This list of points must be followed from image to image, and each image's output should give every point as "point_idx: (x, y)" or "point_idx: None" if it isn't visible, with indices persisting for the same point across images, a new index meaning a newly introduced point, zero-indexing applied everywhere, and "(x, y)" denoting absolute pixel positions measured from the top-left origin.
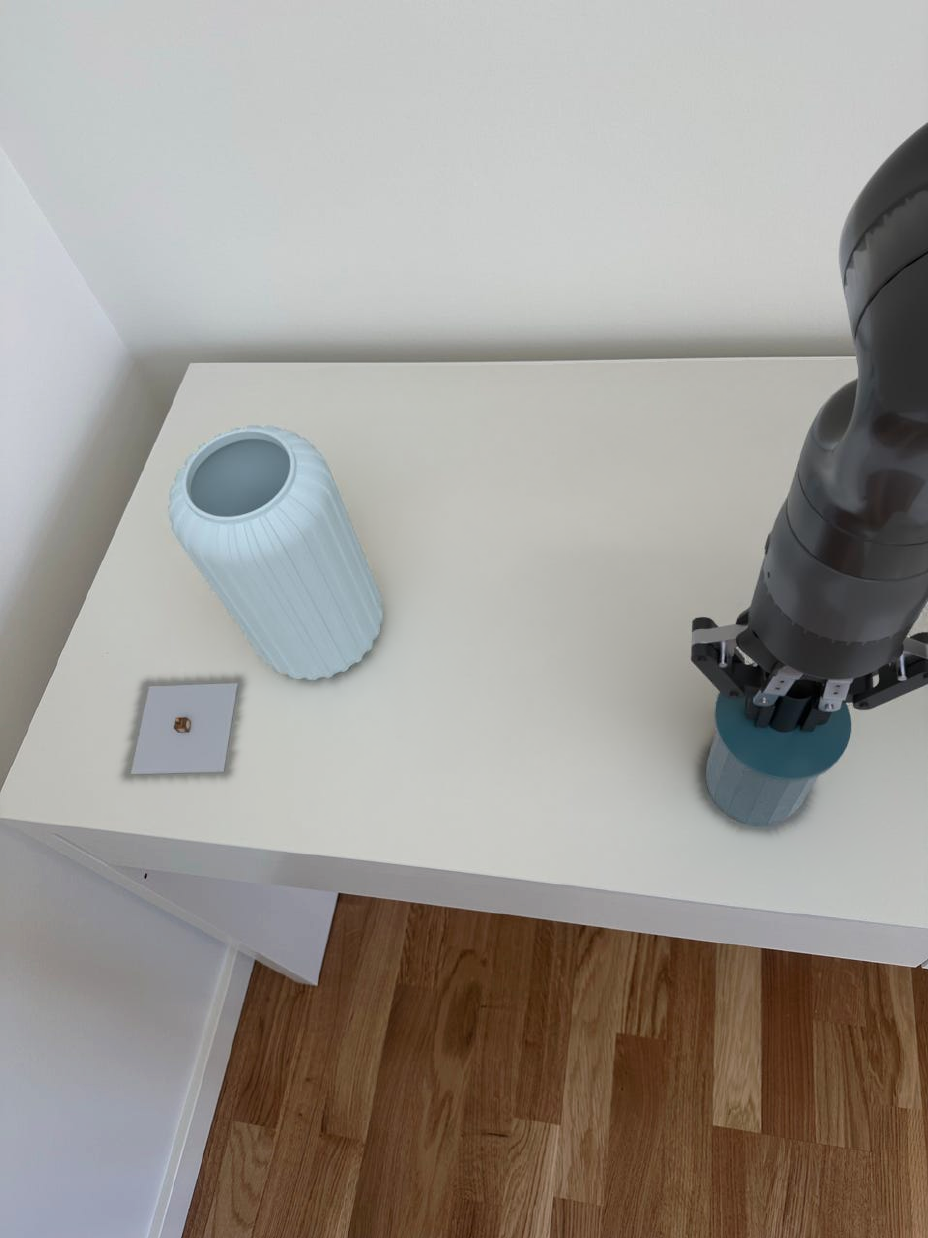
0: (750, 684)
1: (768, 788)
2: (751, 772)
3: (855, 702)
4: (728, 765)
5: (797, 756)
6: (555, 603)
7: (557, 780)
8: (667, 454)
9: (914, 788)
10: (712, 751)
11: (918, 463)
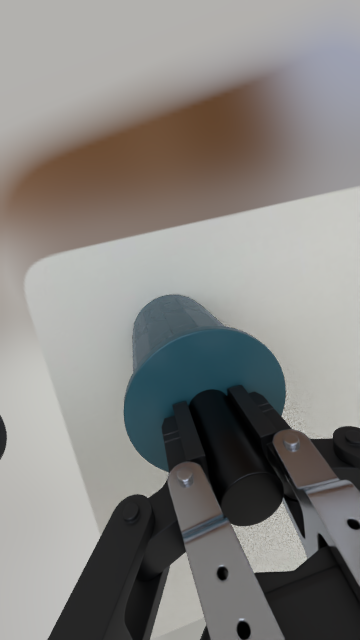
0: (336, 471)
1: (185, 320)
2: None
3: (149, 517)
4: None
5: (181, 367)
6: (336, 407)
7: (315, 278)
8: (280, 531)
9: (51, 370)
10: None
11: None
